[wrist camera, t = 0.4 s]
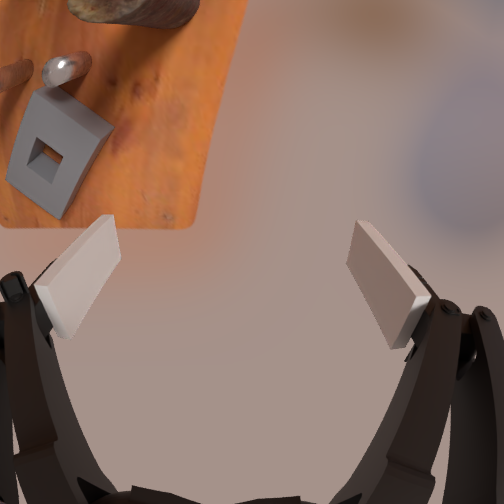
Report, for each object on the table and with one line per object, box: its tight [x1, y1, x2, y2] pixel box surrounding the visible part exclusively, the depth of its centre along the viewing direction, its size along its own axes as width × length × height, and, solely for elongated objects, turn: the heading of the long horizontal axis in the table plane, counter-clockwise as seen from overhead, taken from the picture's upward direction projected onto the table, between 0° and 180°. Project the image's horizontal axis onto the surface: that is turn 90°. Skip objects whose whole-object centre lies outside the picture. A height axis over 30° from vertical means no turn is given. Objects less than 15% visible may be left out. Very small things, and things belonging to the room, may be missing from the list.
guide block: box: [5, 86, 115, 220], centre depth 32 cm, size 18×14×5 cm
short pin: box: [42, 51, 92, 87], centre depth 23 cm, size 4×4×7 cm
